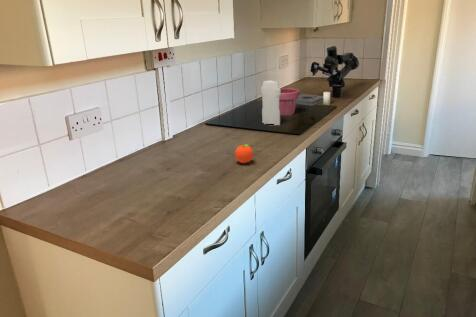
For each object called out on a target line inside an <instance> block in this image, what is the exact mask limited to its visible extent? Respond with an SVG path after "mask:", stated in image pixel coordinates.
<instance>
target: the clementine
mask: <svg viewBox="0 0 476 317" xmlns="http://www.w3.org/2000/svg"><path fill="white" fill-rule="evenodd" d="M234 156H235V159H236V160H237V161H238V162H239V163H240V164H247V162H248V163H250V162H251V161H252V160H253V158H254V151H253V148H252V146H251V145H250V144H242V145H239V146H238V147H237V148H236V149H235V152H234Z"/></svg>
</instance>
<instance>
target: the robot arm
mask: <svg viewBox="0 0 476 317" xmlns="http://www.w3.org/2000/svg"><path fill="white" fill-rule="evenodd" d="M326 54H327V56H325V59H324V63H323V64H322V66H321V65H320V63H319V62H317V61H313V62H312V63H311V65H310V69H309V70H310V73H312V75H311V76H312V77H313V76H315V75H317V73H318V72H319V71H320V72H322V74H323V75H326V76H328V77H327V79H326V81H327V82H328V87H329V88H330V87H331V89H332V91H331V94H330V98H341V97H343V96H344V95H343V94H342V88H345V86H346V82H345V80H344V79H345V77H346V76H348V74H349V73H350V72H351V71H354V70H357V69H358V67H359V66H360V62H359V59H358V58H357V56H355V55H354V53H353V52H345V53H342V54H338V49H337V46H336V45H332V46H329V47H327V48H326ZM343 64H344V66H343V67H342V68H341V69H340V70H339V65H343Z"/></svg>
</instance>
